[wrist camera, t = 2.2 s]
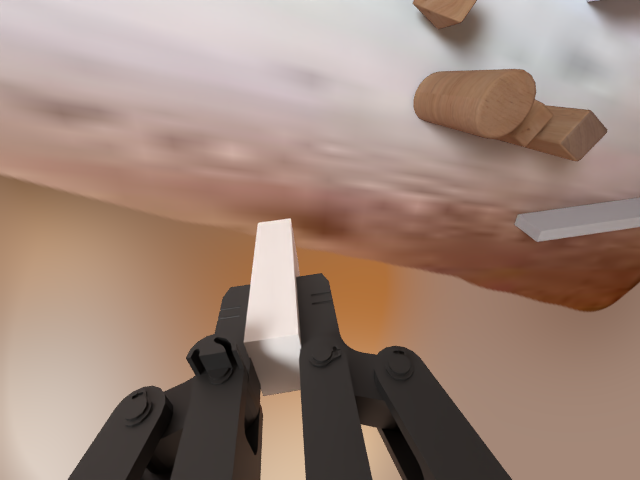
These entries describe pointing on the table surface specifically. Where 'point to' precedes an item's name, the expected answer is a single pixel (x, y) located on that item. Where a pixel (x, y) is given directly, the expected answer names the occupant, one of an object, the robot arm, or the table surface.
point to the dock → (580, 219)
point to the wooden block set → (499, 101)
